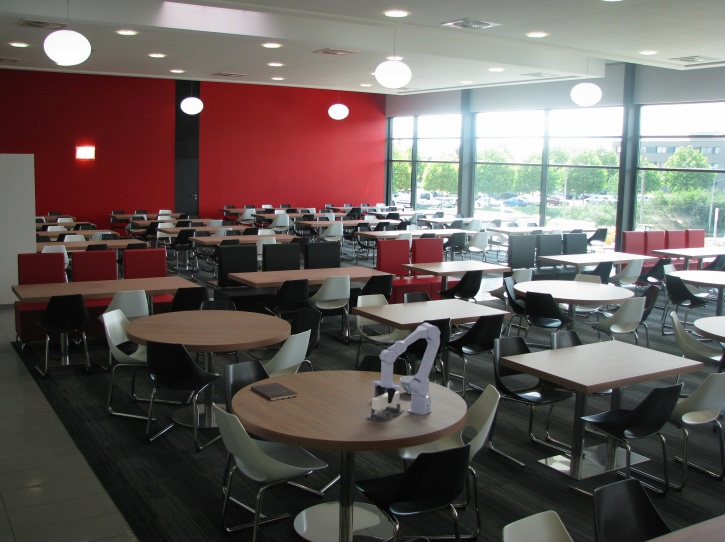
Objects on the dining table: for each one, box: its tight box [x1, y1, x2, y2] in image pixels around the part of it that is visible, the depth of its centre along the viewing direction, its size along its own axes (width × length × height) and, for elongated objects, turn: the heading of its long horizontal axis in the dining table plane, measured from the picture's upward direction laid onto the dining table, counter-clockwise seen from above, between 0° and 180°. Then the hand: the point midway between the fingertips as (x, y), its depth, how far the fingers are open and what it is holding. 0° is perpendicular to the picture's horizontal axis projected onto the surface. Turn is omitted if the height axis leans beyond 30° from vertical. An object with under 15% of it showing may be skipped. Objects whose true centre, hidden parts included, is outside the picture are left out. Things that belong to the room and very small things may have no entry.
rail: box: [371, 391, 401, 411], centre depth 354 cm, size 4×18×5 cm, turn 145°
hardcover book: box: [250, 382, 299, 402], centre depth 387 cm, size 16×23×2 cm
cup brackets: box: [366, 402, 405, 423], centre depth 355 cm, size 8×20×5 cm, turn 145°
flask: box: [373, 385, 390, 398], centre depth 378 cm, size 9×3×11 cm, turn 65°
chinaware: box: [399, 375, 414, 395], centre depth 393 cm, size 15×15×8 cm
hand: (385, 402), depth 354 cm, fingers closed on rail, 4 cm apart
